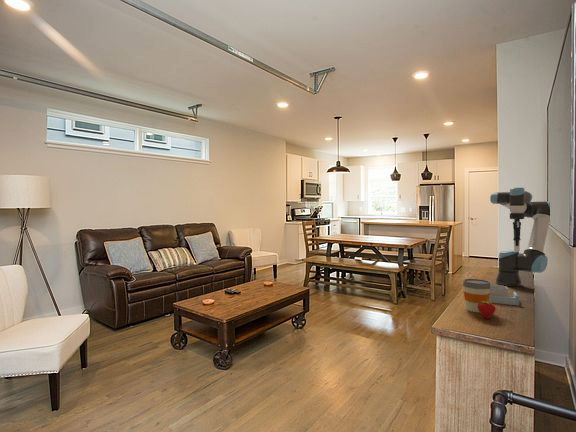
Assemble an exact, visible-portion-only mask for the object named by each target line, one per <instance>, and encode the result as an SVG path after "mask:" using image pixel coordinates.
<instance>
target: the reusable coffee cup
mask: <svg viewBox="0 0 576 432" xmlns="http://www.w3.org/2000/svg"><path fill="white" fill-rule="evenodd" d="M490 285H491V282H490V281H489V280H485V279H478V278H465V279H463V282H462V287H463V297H464V300H465V305H466V310H467V311H469V312H472V311H473V313H479V310H478V307H477V306H478V304H479V303H483V302H480V301H485V302H487V301H489V297H490V293H489V291H490V288H491V286H490ZM487 298H488V299H487Z"/></svg>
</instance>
